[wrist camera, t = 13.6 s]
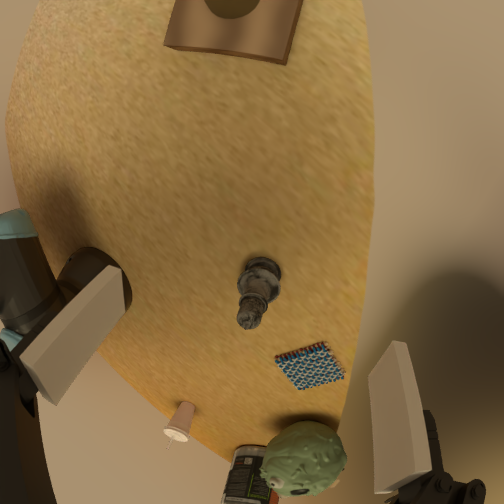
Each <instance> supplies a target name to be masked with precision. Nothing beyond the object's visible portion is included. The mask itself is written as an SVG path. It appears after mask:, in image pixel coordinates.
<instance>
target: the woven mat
mask: <svg viewBox="0 0 504 504" xmlns="http://www.w3.org/2000/svg"><path fill="white" fill-rule="evenodd" d="M316 344H317V345H312V346H311V347H307V348H304V349H302V348H301V349H300V350H298V351H295V352H291V353H288V354H283V355H280V356H275V358H274V360H275V362H276V364H277V365H278V366H277V367H279V368H280V369H282V370H283V371H281V372H284V374H286V375H285V376H287V378H288V379H290V380H289V381H290V382H293V383H294V384H293V385H295V386H294V387H295V388H298V390H301V389H303V390H305V388H309V387H311V388H312V386H316V385H318V386H320V384H324V383H325V382H326V384H327V383H328V382H332V379H333V381H334V382H335V381H336V379H337V380H339V378H340V377H341V379H344V375H345V374H344V373H346V371H344V369H343V368H342V369H340V368H341V366H342V365H341V364H340V362H338V361H337V360H336V358H333V356H334V355H333V353H334V352H333V351H332V350H330V351H329V350H328V348H331V347H330V346H329V347H326V346H327V345H328V343H327V342H322V343H320V344H319V343H316ZM320 346H321V347H322V348H321V347H320ZM312 349H313V350H312ZM295 354H296V355H295ZM335 361H337V362H335ZM343 371H344V372H343ZM300 379H301V380H300Z"/></svg>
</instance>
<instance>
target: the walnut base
mask: <svg viewBox="0 0 504 504" xmlns="http://www.w3.org/2000/svg"><path fill="white" fill-rule="evenodd" d="M302 3H303V0H260V1H259V3H258V5H257V6H256V8H255V9H254V10H253V11H252V12H250V13H249V14H247V15H245V16H243V17H240V18H235V19H224V18H221V17H218V16H216V15H215V14H213V13H212V12H211V11H210V9H209V8H208V6H207V5H206V3H205V1H204V0H176V1H175V4H174V8H173V11H172V14H171V18H170V21H169V25H168V29H167V32H166V36H165V40H164V44H163V45H164V46H167V47H170V48H172V49H175V50H181V51H195V52H206V53H215V54H224V55H231V56H238V57H244V58H250V59H256V60H261V61H266V62H271V63H276V64H281V65H285V66H286V63H287V59H288V55H289V52H290V48H291V44H292V40H293V37H294V33H295V29H296V25H297V22H298V18H299V14H300V11H301V7H302Z"/></svg>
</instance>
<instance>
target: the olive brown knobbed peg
mask: <svg viewBox="0 0 504 504" xmlns="http://www.w3.org/2000/svg"><path fill="white" fill-rule="evenodd" d="M204 1H205V3H206V5H207V6H208V8H209V9H210V11H211V12H212V13H213V14H215V15H216V16H218V17H221V18H224V19H235V18H240V17H243V16H245V15H247V14H249V13H250V12H252V11H253V10H254V9H255V8H256V6H257V5H258V3H259V1H260V0H204Z"/></svg>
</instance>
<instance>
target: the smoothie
mask: <svg viewBox="0 0 504 504" xmlns="http://www.w3.org/2000/svg"><path fill="white" fill-rule="evenodd" d="M194 410H195V406H194V405H193V404H191V403H189V402H186V401H183V402H182V403H181V404H180V406H179V407H178V409H177V411H176V412H175V414H174V415H173V417H172V419H171V420H170V422H169V423H168V425H167V426H165V428H164V430H163V431H164V433H165V434H166V435H167V436H169V437H170V438H171V440H170V442H169V444H168V447H167V449H169V448H170V446H171V443H172V441H173V439H175V440H178V441H182V442H186V441H188V439H189V437H190V436H189V432H190V428H191V423H192V419H193V415H194Z"/></svg>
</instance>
